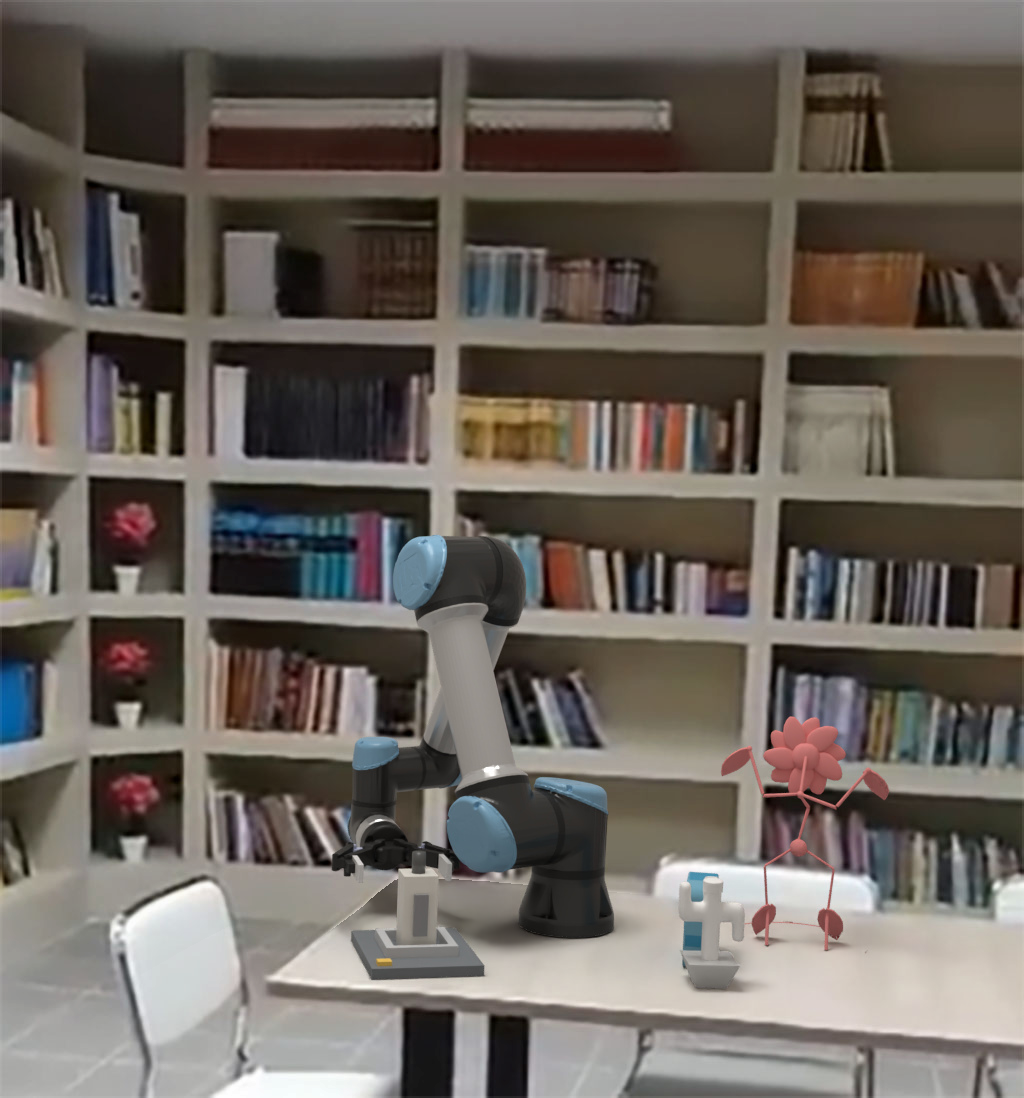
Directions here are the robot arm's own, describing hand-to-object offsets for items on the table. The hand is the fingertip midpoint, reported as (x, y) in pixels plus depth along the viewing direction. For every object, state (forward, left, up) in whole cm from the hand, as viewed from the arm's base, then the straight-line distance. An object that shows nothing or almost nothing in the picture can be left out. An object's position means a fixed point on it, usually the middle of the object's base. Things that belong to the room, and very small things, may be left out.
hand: (405, 873), depth 251 cm
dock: (0, +10, -10) cm, 14 cm away
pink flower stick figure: (-62, +5, -10) cm, 63 cm away
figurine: (-39, +27, -10) cm, 49 cm away
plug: (0, +10, -8) cm, 13 cm away
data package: (-42, +15, -10) cm, 46 cm away
